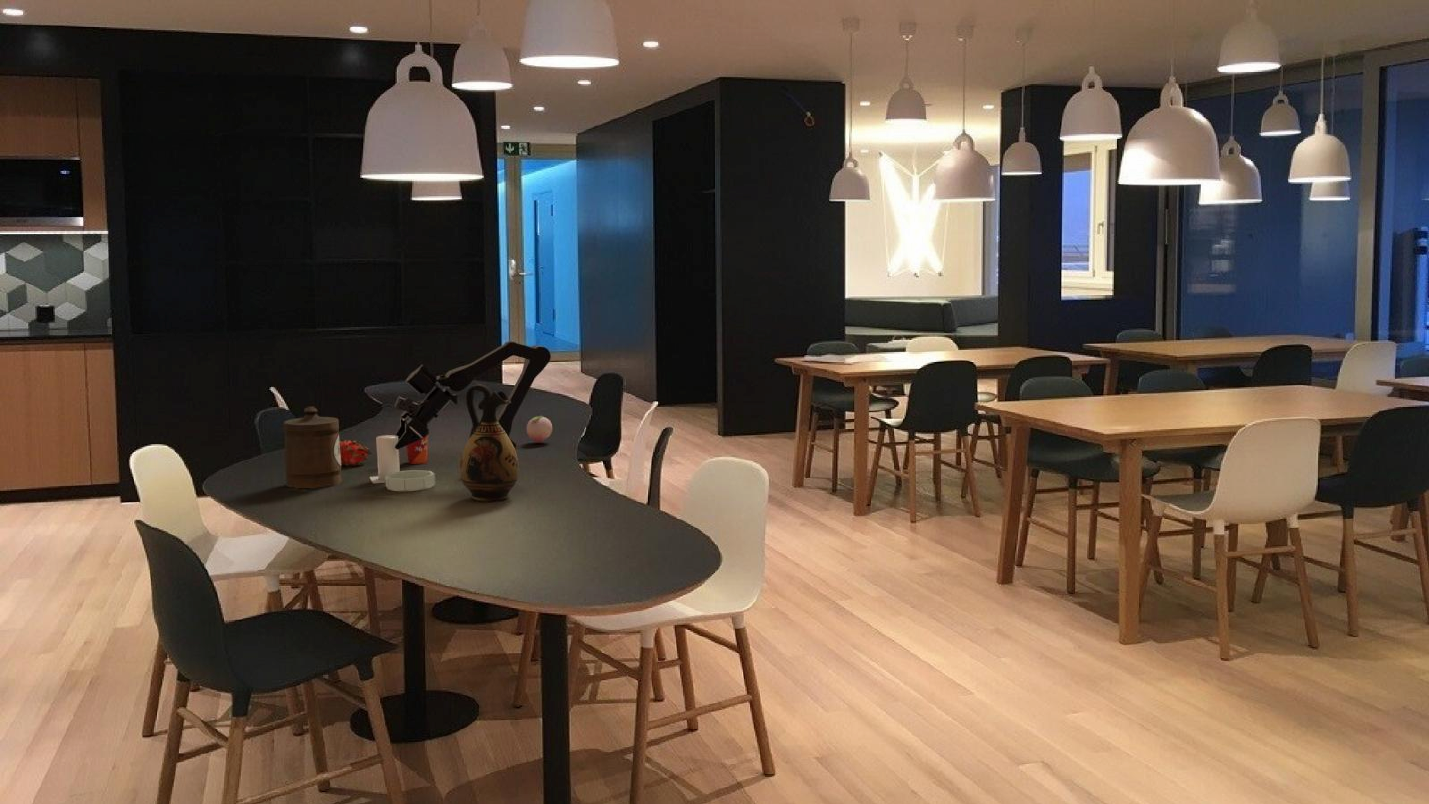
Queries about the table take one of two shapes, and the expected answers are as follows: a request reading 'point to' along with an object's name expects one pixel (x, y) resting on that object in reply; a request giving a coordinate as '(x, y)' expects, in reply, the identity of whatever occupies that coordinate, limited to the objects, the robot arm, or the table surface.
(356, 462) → the dragon fruit
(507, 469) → the ceramic jug
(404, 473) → the bowl
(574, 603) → the table surface
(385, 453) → the white cylinder
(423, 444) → the paper cup
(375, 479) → the mat
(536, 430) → the decorative fruit
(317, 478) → the wooden container
